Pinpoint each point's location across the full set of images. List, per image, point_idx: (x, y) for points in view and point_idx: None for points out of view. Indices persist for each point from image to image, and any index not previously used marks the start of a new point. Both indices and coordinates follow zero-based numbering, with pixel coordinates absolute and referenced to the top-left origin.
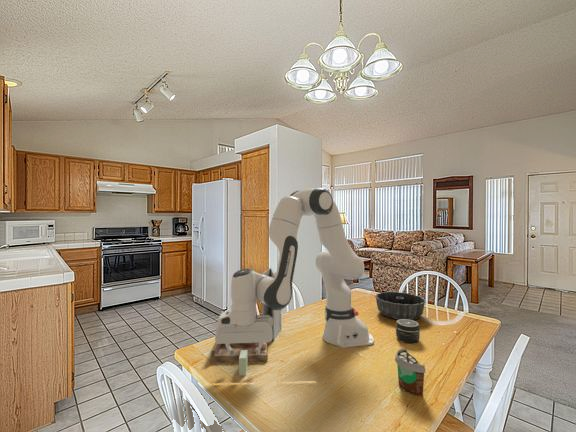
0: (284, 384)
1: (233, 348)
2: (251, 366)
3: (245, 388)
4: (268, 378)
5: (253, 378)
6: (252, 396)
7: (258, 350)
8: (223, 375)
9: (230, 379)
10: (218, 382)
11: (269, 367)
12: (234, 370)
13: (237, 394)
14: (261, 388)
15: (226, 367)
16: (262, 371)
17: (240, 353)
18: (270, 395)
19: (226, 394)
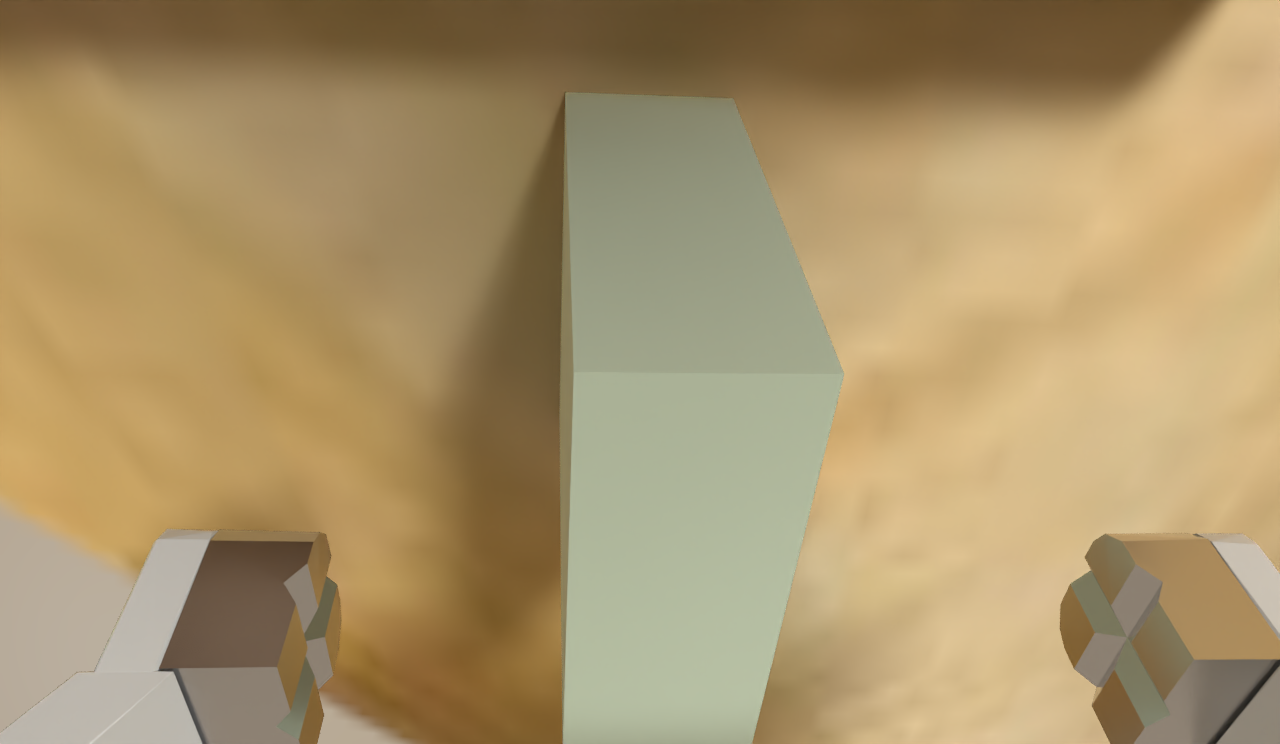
0: None
1: (273, 671)
2: (835, 49)
3: None
4: (1075, 467)
5: (824, 459)
6: (770, 741)
7: (1201, 740)
8: (227, 361)
9: (412, 471)
10: None
11: (1247, 129)
12: (420, 198)
13: None
14: (905, 642)
15: (160, 45)
16: (1040, 271)
17: (577, 561)
18: (982, 728)
19: (441, 721)
